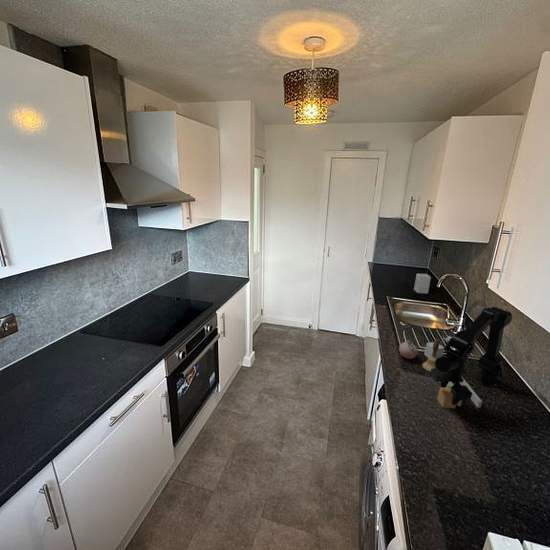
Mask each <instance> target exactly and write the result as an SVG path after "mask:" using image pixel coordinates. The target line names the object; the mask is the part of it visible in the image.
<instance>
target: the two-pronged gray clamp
mask: <svg viewBox="0 0 550 550" xmlns="http://www.w3.org/2000/svg"><path fill="white" fill-rule="evenodd" d="M459 383H460V384H461V385H465V386H467V388H468V389H469V390H470V391H471V392H472V397H471V398H469V399H470V400H471V402H473V404H474V405H475V406H476V407H477V408H480V409H481V408H482V404H483V400H482V399H481V398H480V397H479V395H477V394H476V392H475V391H474V390H473V388H472V387H471V386H470V384H469V383H468V382H467V381H466V380H465V378H463V382H459ZM452 386H453V383H452V382H449V383H448V384H447V386H446V388H451V387H452ZM462 403H463V399H462V400H461V401H459V402H458V403H457V404H456V406H457V407H461V406H462Z"/></svg>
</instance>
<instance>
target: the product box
mask: <svg viewBox="0 0 550 550" xmlns="http://www.w3.org/2000/svg"><path fill="white" fill-rule="evenodd" d="M433 343H434V342H426V346H425V350H424V354H423V355H424V356H426V358H428V357H429V356H432V353H433ZM444 348H445V346H443V345H441V344H439V348H438V350H437V352H436V358H439V357H442V355H444V351H445V350H444Z"/></svg>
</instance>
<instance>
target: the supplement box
mask: <svg viewBox="0 0 550 550" xmlns="http://www.w3.org/2000/svg"><path fill="white" fill-rule="evenodd" d="M431 279H432V277H431V275H429V274H428V273H416V275H415V280H414V287H413V291H415V292H416V293H417V294H426V295H427V294H428V295H429V290H430V283H431Z"/></svg>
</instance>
